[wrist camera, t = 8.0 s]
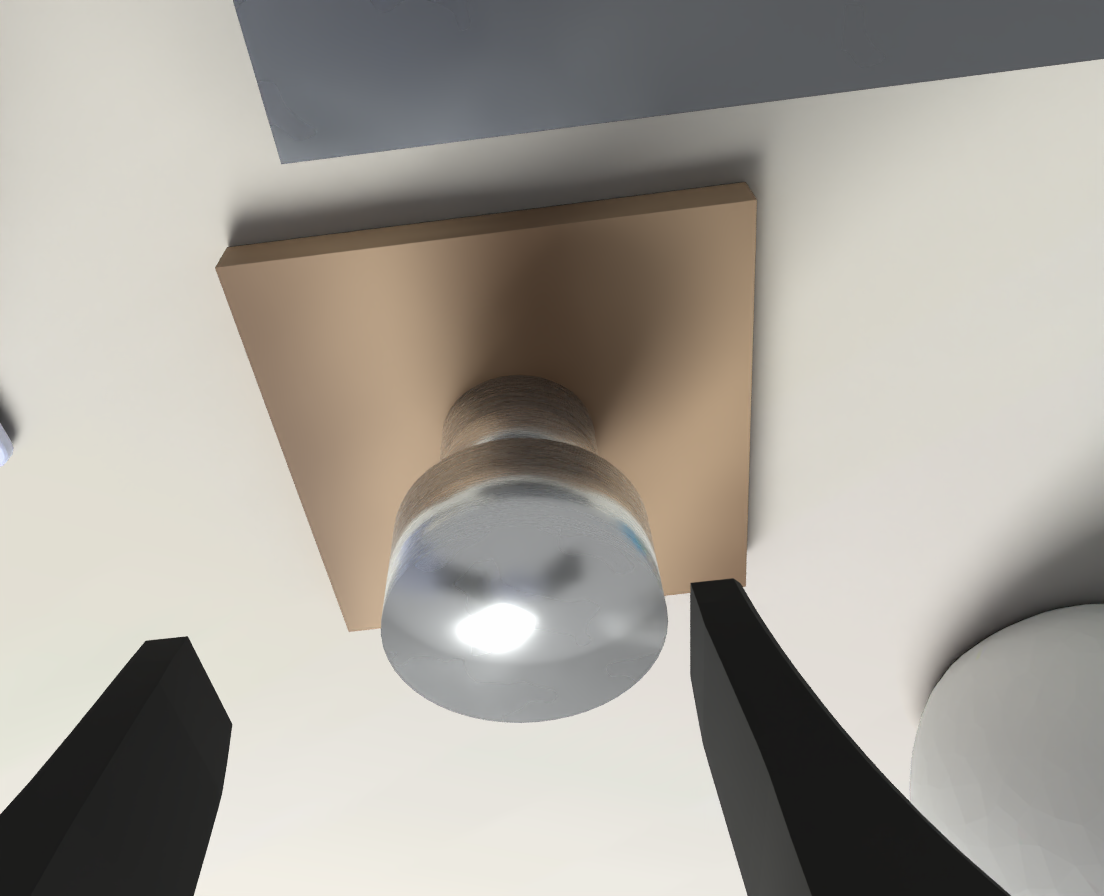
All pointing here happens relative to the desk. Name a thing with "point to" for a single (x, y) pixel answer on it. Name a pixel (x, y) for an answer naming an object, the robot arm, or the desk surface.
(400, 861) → the desk surface
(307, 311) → the pad
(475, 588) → the end cover
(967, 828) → the decorative egg
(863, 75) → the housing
